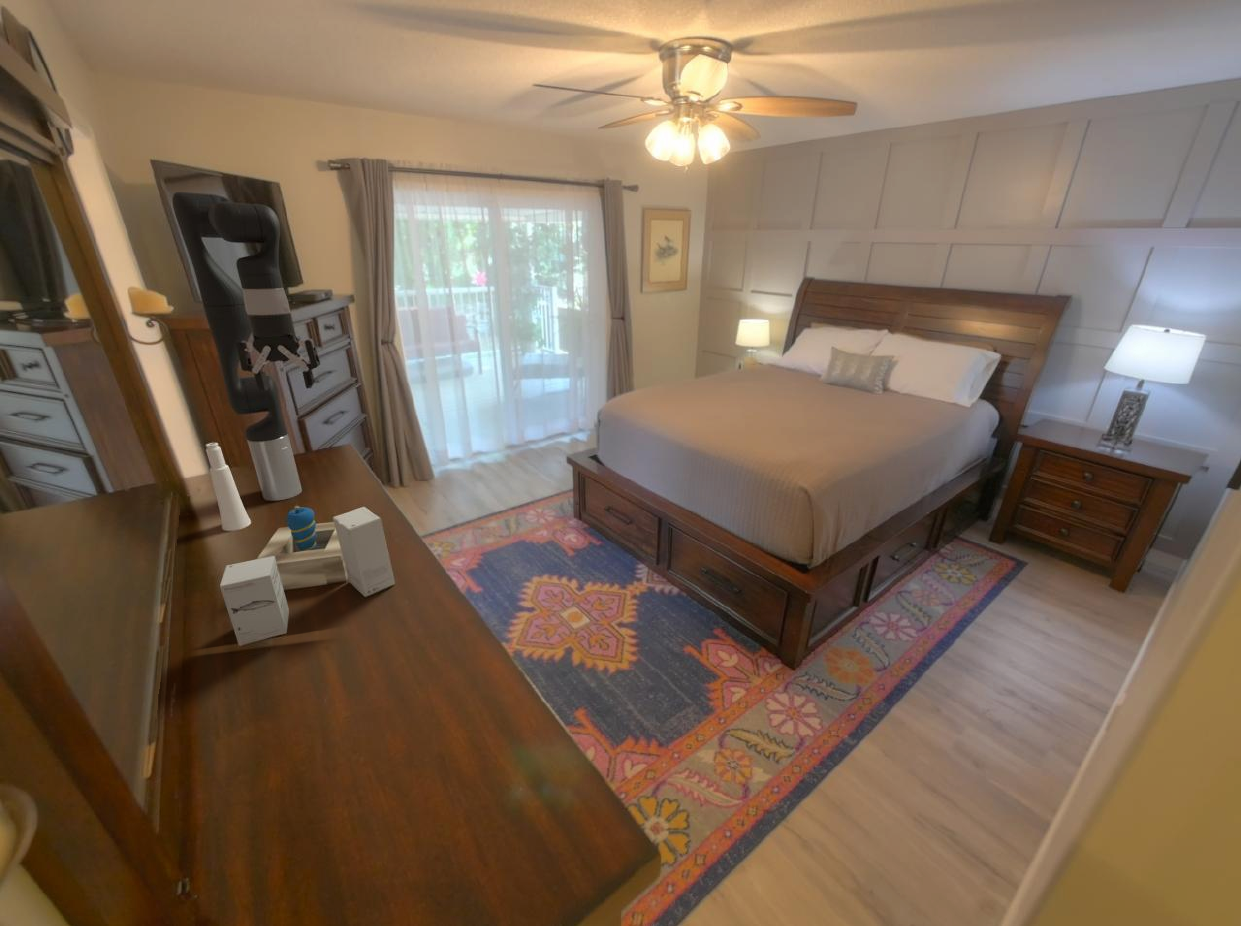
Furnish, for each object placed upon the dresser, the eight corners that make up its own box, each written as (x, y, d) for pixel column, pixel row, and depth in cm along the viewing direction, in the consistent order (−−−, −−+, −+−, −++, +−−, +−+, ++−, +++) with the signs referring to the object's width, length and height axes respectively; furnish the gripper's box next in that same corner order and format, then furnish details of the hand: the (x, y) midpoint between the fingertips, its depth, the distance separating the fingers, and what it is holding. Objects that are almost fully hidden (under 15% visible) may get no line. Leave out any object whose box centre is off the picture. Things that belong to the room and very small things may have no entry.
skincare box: (395, 585, 105) (383, 518, 99) (363, 599, 100) (347, 530, 95) (378, 569, 110) (365, 504, 104) (346, 582, 106) (331, 515, 100)
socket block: (285, 552, 116) (278, 527, 114) (361, 543, 120) (356, 519, 118) (259, 593, 102) (251, 566, 100) (346, 581, 106) (340, 555, 104)
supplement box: (238, 647, 88) (217, 586, 83) (244, 622, 94) (225, 564, 89) (288, 634, 91) (270, 574, 86) (291, 610, 97) (274, 553, 92)
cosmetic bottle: (252, 528, 126) (227, 445, 118) (222, 535, 123) (194, 450, 115) (251, 518, 131) (228, 438, 123) (222, 525, 128) (196, 442, 120)
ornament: (330, 559, 113) (316, 498, 107) (315, 572, 108) (300, 510, 103) (308, 557, 114) (293, 497, 108) (292, 570, 109) (276, 508, 103)
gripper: (312, 309, 110) (328, 383, 116) (236, 310, 106) (256, 386, 112) (302, 312, 103) (319, 391, 109) (220, 314, 99) (243, 395, 105)
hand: (287, 388), depth 111 cm, fingers open, 8 cm apart
